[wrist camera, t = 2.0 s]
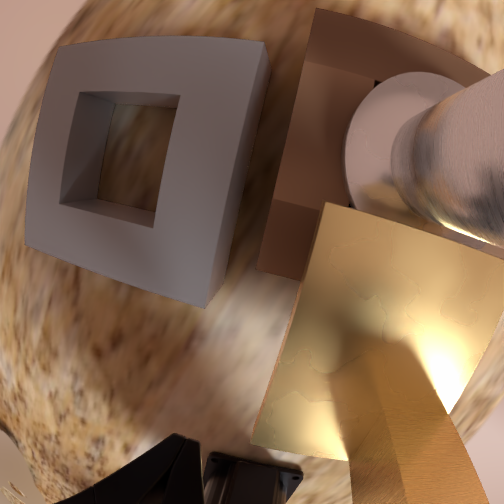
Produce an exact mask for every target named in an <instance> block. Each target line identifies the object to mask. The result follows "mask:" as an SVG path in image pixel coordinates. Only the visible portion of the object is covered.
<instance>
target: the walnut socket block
mask: <svg viewBox="0 0 504 504" xmlns="http://www.w3.org/2000/svg"><path fill="white" fill-rule="evenodd" d="M409 72H427V73H433V74H437V75H441V76H444V77H446V78H449V79H451V80H453V81H455V82H457V83H459V84H460V85H462V86H463V87H465V88H467V87H469V86H471V85H473V84H475V83H477V82H479V81H481V80H483V79H485V78H487V77H489V76H490V74H488V73H487V72H485V71H483V70H482V69H480V68H478V67H476V66H475V65H473V64H471V63H469V62H467V61H465V60H463V59H461V58H459V57H457V56H456V55H454V54H451V53H449V52H447V51H445V50H443V49H441V48H439V47H437V46H434V45H432V44H430V43H428V42H425V41H423V40H420V39H418V38H416V37H413V36H410V35H408V34H405V33H403V32H400V31H397V30H394V29H392V28H389V27H386V26H383V25H380V24H377V23H373V22H370V21H367V20H363V19H360V18H356V17H353V16H349V15H345V14H341V13H337V12H333V11H328V10H324V9H319V8H316V10H315V14H314V19H313V23H312V28H311V32H310V37H309V41H308V46H307V50H306V55H305V59H304V64H303V68H302V72H301V77H300V81H299V86H298V90H297V94H296V99H295V103H294V108H293V112H292V116H291V121H290V125H289V129H288V134H287V138H286V142H285V147H284V151H283V155H282V160H281V164H280V168H279V172H278V177H277V181H276V185H275V190H274V194H273V198H272V202H271V207H270V211H269V215H268V219H267V223H266V228H265V232H264V236H263V240H262V244H261V249H260V253H259V257H258V261H257V265H256V270H260V271H264V272H267V273H271V274H275V275H279V276H283V277H287V278H291V279H295V280H299V281H301V279H302V276H303V272H304V268H305V265H306V261H307V258H308V254H309V250H310V247H311V243H312V239H313V236H314V232H315V228H316V224H317V220H318V216H319V213H320V209H321V205H322V201H323V200H325V201H329V202H332V203H336V204H340V205H343V206H347V207H348V205H349V199H348V196H347V194H346V191H345V187H344V182H343V178H342V169H341V150H342V144H343V138H344V135H345V131H346V128H347V125H348V123H349V121H350V119H351V117H352V115H353V113H354V112H355V110H356V109H357V107H358V106H359V105H360V103H361V102H362V101H363V100H364V99H365V97H366V96H367V95H368V94H369V93H370V92H371V91H372V90H373V89H374V88H375V87H376V86H378V85H379V84H380V83H382V82H384V81H385V80H387V79H389V78H391V77H394V76H396V75H399V74H404V73H409ZM480 250H481V251H484V252H486V253H489V254H492V255H494V256H497V257H499V258H502V259H504V249H503V248H500V247H498V246H495V245H493V244H490V243H486V244H485V246H484V247H482V248H481V249H480Z"/></svg>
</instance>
